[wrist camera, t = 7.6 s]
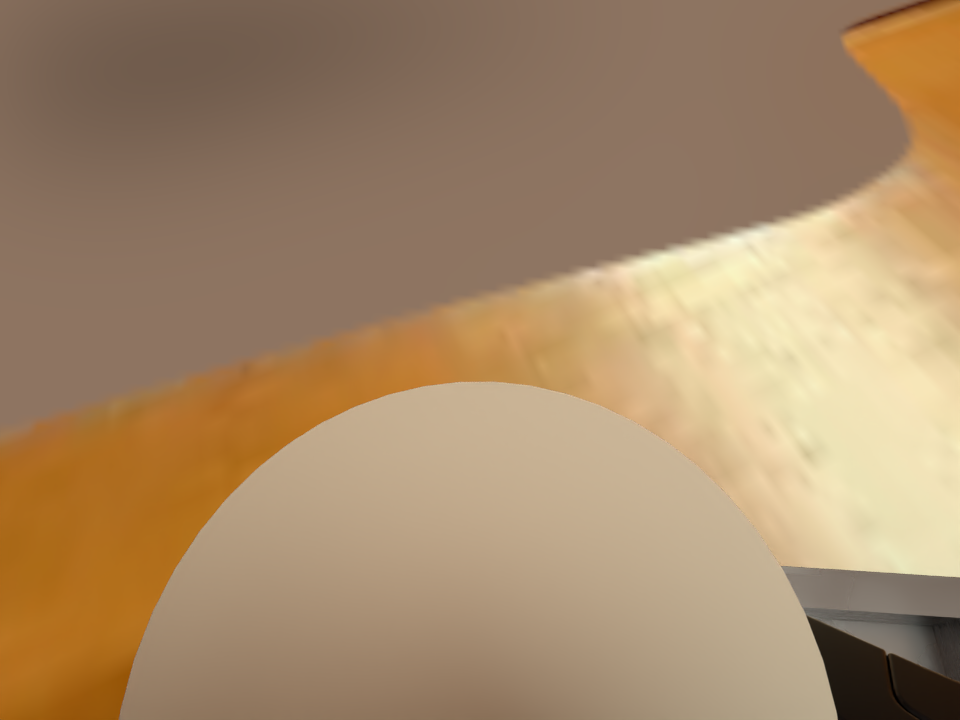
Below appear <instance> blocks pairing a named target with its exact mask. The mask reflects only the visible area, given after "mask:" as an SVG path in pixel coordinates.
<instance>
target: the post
mask: <svg viewBox="0 0 960 720" xmlns="http://www.w3.org/2000/svg"><path fill="white" fill-rule="evenodd" d="M119 720H838V718H837V712H836V708H835V704H834V700H833V697H832V693H831V689H830V685H829V681H828V677H827V673H826V670H825V666H824V662H823V659H822V656H821V654H820V651H819V648H818V646H817V643H816V640H815V638H814V635H813V633H812V630H811V627H810V625H809V622H808V619H807V617H806V614H805V612H804V610H803V608H802V606H801V604H800V602H799V600H798V598H797V596H796V594H795V592H794V590H793V588H792V586H791V584H790V582H789V581H788V579H787V577H786V575H785V573H784V571H783V569H782V567H781V566H780V564H779V563H778V561H777V560H776V558H775V557H774V555H773V554H772V552H771V551H770V549H769V548H768V546H767V545H766V543H765V541H764V540H763V538H762V537H761V535H760V534H759V532H758V531H757V530H756V528H755V527H754V526H753V525H752V523H751V522H750V521H749V520H748V519H747V517H746V516H745V515H744V514H743V513H742V511H741V510H740V509H739V508H738V506H737V505H736V504H735V503H734V502H733V500H732V499H731V498H730V497H729V496H728V495H727V494H726V493H725V492H724V491H723V490H722V489H721V488H720V487H719V486H718V485H717V484H716V483H715V482H714V481H713V480H712V479H711V478H710V477H709V476H708V475H707V474H706V473H705V472H704V471H703V470H702V469H701V468H700V467H698V466H697V465H696V464H695V463H693V462H692V461H691V460H690V459H688V458H687V457H686V456H684V455H683V454H682V453H681V452H679V451H678V450H677V449H676V448H674V447H673V446H672V445H670V444H669V443H668V442H666V441H665V440H663V439H662V438H660V437H658V436H657V435H655V434H653V433H652V432H650V431H649V430H647V429H645V428H644V427H642V426H641V425H639V424H637V423H636V422H634V421H632V420H630V419H628V418H626V417H623V416H621V415H619V414H617V413H615V412H613V411H611V410H609V409H607V408H605V407H603V406H600V405H597V404H595V403H592V402H589V401H586V400H583V399H580V398H577V397H574V396H571V395H569V394H565V393H561V392H557V391H552V390H548V389H543V388H539V387H534V386H529V385H520V384H510V383H501V382H456V383H448V384H439V385H431V386H424V387H419V388H415V389H411V390H406V391H402V392H398V393H394V394H389V395H387V396H384V397H381V398H378V399H375V400H373V401H370V402H367V403H364V404H361V405H359V406H356V407H353V408H351V409H349V410H347V411H345V412H343V413H341V414H339V415H337V416H335V417H333V418H331V419H329V420H327V421H325V422H323V423H321V424H319V425H318V426H316V427H314V428H313V429H311V430H310V431H308V432H306V433H305V434H303V435H302V436H300V437H298V438H297V439H295V440H294V441H292V442H291V443H289V444H288V445H286V446H285V447H284V448H283V449H281V450H280V451H279V452H277V453H276V454H275V455H274V456H272V457H271V458H270V459H269V460H267V461H266V462H265V463H264V464H262V465H261V466H260V467H259V468H257V469H256V470H255V471H254V472H253V473H252V474H251V475H250V476H249V477H248V478H247V479H246V480H245V481H244V482H243V483H242V484H241V485H240V486H239V487H238V488H237V489H236V490H235V491H234V492H233V493H232V494H231V495H230V496H229V497H228V498H227V499H226V500H225V501H224V503H223V504H222V505H221V506H220V507H219V509H218V510H217V511H216V512H215V514H214V515H213V516H212V517H211V518H210V520H209V521H208V522H207V523H206V524H205V526H204V527H203V528H202V529H201V531H200V532H199V533H198V535H197V536H196V538H195V539H194V541H193V542H192V544H191V546H190V547H189V549H188V550H187V552H186V553H185V555H184V556H183V558H182V559H181V561H180V562H179V564H178V565H177V567H176V568H175V570H174V572H173V574H172V576H171V578H170V580H169V581H168V583H167V585H166V587H165V589H164V591H163V593H162V595H161V597H160V599H159V601H158V603H157V605H156V607H155V609H154V611H153V613H152V615H151V618H150V620H149V623H148V625H147V628H146V631H145V633H144V636H143V638H142V641H141V643H140V646H139V649H138V651H137V654H136V656H135V659H134V662H133V666H132V670H131V673H130V677H129V681H128V685H127V688H126V692H125V696H124V699H123V703H122V707H121V711H120V717H119Z"/></svg>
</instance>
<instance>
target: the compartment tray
mask: <svg viewBox="0 0 960 720" xmlns="http://www.w3.org/2000/svg"><path fill="white" fill-rule="evenodd" d="M781 567H782V569H783V571H784V573H785V575H786V577H787V579H788V581H789V582H790V584H791V586H792V588H793V590H794V592H795V594H796V596H797V598H798V600H799V602H800V604H801V606H802V608H803V610H804V612H805V614H806V615H808V616H810V617H812V618H814V619H817V620H819V621H821V622H823V623H826V624H828V625H830V626H832V627H835V628H837V629H839V630H841V631H844V632H846V633H848V634H850V635H853V636H855V637H857V638H859V639H862V640H864V641H866V642H869V643H871V644H873V645H875V646H878V647H880V648H882V649H884V650H885V651H886V654H887V655H888V654H889V653H894V654H896V655H898V656H901V657H903V658H905V659H907V660H909V661H912V662H914V663H916V664H918V665H921V666H923V667H925V668H928V669H930V670H932V671H935V672H937V673H939V674H942V675H944V676H946V677H949V678H951V679H954V680H956V681H958V682H960V578H958V577H942V576H927V575H912V574H896V573H881V572H866V571H850V570H835V569H819V568H804V567H789V566H781Z"/></svg>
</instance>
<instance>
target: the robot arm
mask: <svg viewBox="0 0 960 720" xmlns="http://www.w3.org/2000/svg"><path fill="white" fill-rule="evenodd" d="M806 617H807V619H808V622H809V625H810V627H811V630H812V633H813V635H814V638H815V640H816V643H817V646H818V648H819V651H820V654H821V656H822V659H823V662H824V666H825V670H826V673H827V677H828V681H829V685H830V689H831V693H832V697H833V700H834V704H835V708H836V712H837V718H838V720H960V682H958V681H956V680H954V679H951V678H949V677H946V676H944V675H942V674H939V673H937V672H935V671H932V670H930V669H928V668H925V667H923V666H921V665H918V664H916V663H914V662H912V661H909V660H907V659H905V658H903V657H901V656H898V655H896V654H894V653H889V654H888V655H887V654H886V651H885V650H884V649H882V648H880V647H878V646H875V645H873V644H871V643H869V642H866V641H864V640H862V639H859V638H857V637H855V636H853V635H850V634H848V633H846V632H844V631H841V630H839V629H837V628H835V627H832V626H830V625H828V624H826V623H823V622H821V621H819V620H817V619H814V618H812V617H810V616H808V615H806Z"/></svg>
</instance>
